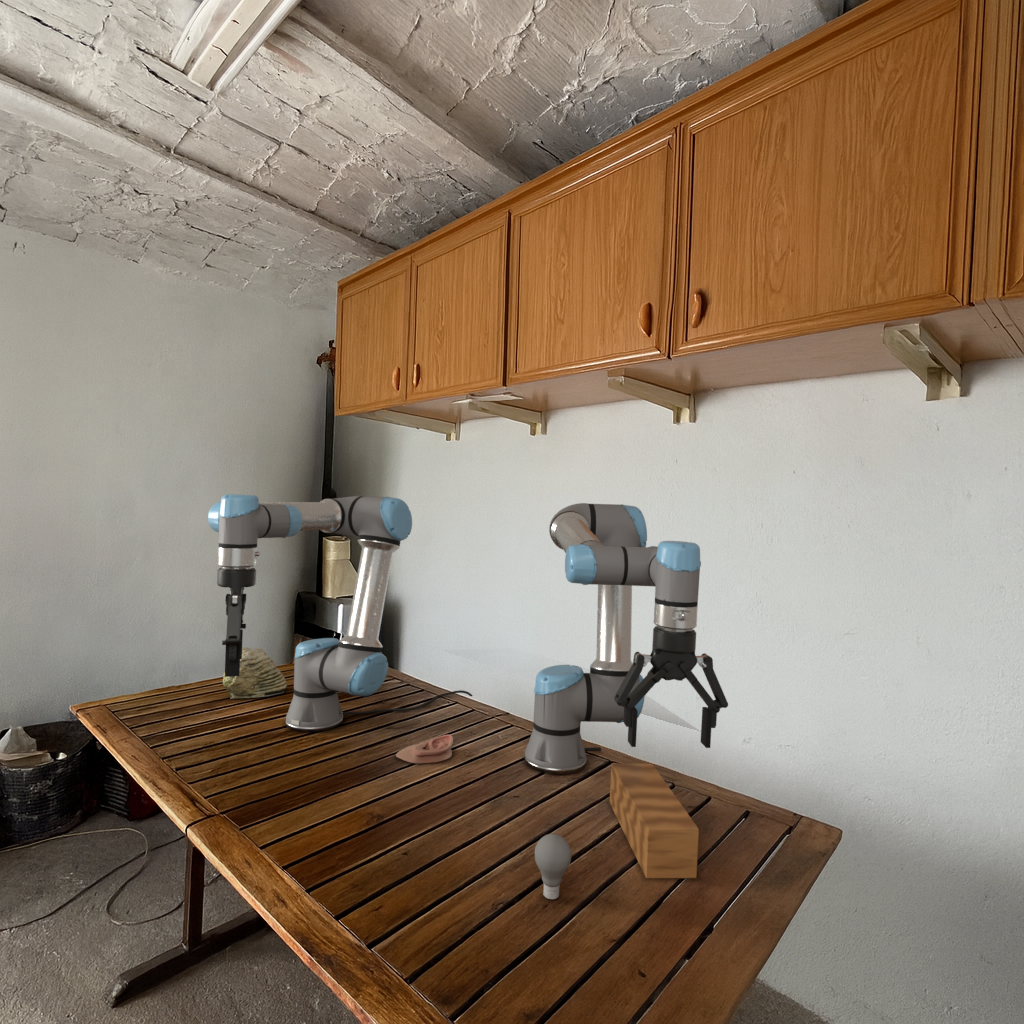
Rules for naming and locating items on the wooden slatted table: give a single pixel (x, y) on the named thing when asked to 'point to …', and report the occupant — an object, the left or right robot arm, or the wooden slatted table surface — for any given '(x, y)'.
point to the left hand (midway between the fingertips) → (233, 667)
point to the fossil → (255, 676)
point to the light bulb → (552, 862)
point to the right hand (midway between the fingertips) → (668, 744)
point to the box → (654, 822)
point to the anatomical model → (428, 750)
